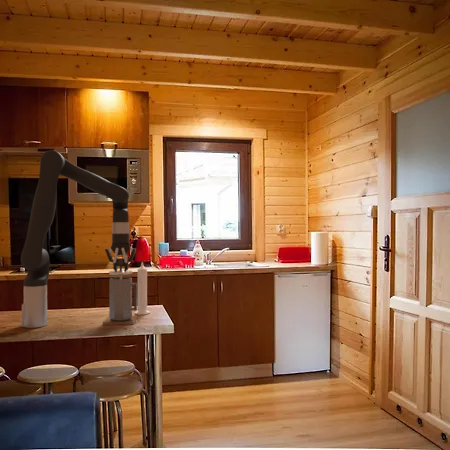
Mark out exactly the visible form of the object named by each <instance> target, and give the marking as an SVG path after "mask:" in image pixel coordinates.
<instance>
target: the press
mask: <svg viewBox="0 0 450 450" xmlns="http://www.w3.org/2000/svg"><path fill="white" fill-rule="evenodd" d="M108 279H109V282H108V283H109V290H108V291H109V294H108V295H109V301H108V302H109V305H108V306H109V309H108V310H109V312H108V313H109V315H108V317H107V318H106V319H105V320H103V321H102V326H117V325H118V326H122V325H124V326H125V325H128V326H129V325H131V326H132V325H134V324H135V323H136V322H137V320H138V319H139V315H133V311H135V312H136V311H138V282H133V277H129V276H127V277H126V276H125V277H123V276H122V279H120V276H119V277H110V278H108ZM135 321H136V322H135Z"/></svg>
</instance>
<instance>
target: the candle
mask: <svg viewBox="0 0 450 450" xmlns="http://www.w3.org/2000/svg"><path fill="white" fill-rule="evenodd" d="M150 312H151V311H149V310H148V268H147V267H145V266H144V262H143V261H142V262H141V264H140V267H138V268H137V310H136V311H135V312H134V314H135V315H136V314H137V315H136V316H143V315H149V314H150Z"/></svg>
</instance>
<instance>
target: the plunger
mask: <svg viewBox="0 0 450 450" xmlns="http://www.w3.org/2000/svg"><path fill="white" fill-rule="evenodd" d="M124 263H125V260H124V257H123V258H118V259H117V267H119V269H117V271H115V270H110V271H108V273H109V275H113V276H119V277H120V279H122V277H123V276H124V275H131V274H133V271H132V270H129V269H128V270H127V271H124V269H123V267H124Z"/></svg>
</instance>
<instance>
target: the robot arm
mask: <svg viewBox="0 0 450 450" xmlns="http://www.w3.org/2000/svg"><path fill="white" fill-rule="evenodd" d="M39 162H40V163H39V177H38V183H37V186H36V189H35V193H34V197H33V201H32V205H31V206H32V207H31V212H30V217H29V223H28V228H27V229H28V230H27V234H26V238H25V243H24V245H23V248H22V251H21V255H20V262H21V263H20V264H21V265H22V267H23V268H24V269H25V270H27V274H26V275H25V276H26V277H25V278H24V280H23V303H21V328H28V329H30V328H31V329H33V328H35V329H36V328H42V327H45V326H47V325H48V280H49V277H50V255H49V253H48V250H46V249H44V248H43V247H44V244H45V243H44V241H45V238H46V235H47V233H48V231H49V230H50V229H51V226H52V224H53V222H54V218H55V214H56V208H57V194H58V193H57V191H58V190H57V186H58V181H59V177H60V176H63V177H65V178H68V179H70V180H72V181H73V182H76V183H78V184H80V185H81V186H83V187H84V188H87V189H89V190H90V191H91V192H92V191H93V192H94V193H96V194H98V195H100V196H101V195H102V196H104V197H106V198H108V199H110V200H112V226H111V246H110V247H109V248H105V250H104V251H105V253H106V256H107V259H108V261H109V262H111V263H112V264H113V271H117V270H118V266H117V259H119V256H122V257H123V258H124V260H125V263H124V266H123V270H124V271H127V270H129V262H132V261H133V259H134V257H135V254H136V252H137V248H133V247H131V245H130V220H129V219H130V218H129V216H130V215H129V198H130V193H129V191H128V190H127V188H124V187H122V186H120V185H118V184H116V183H113V182H111V181H109V180H107V179H106V178H103V177H101V176H100V175H97V174H95V173H93V172H90V171H89V170H86V169H84V168H81V167H79V166H77V165H75V164H74V163H72V162H70V161H69V160H67V158H65V157H64V156H63V155H62V154H61V153H60V152H58V151H56V150H54V149H49V150H46V151H45V152H44V153H42V155H41V157H40V161H39ZM129 251H130V255H129V258H128V253H129ZM112 252H113V253H114V255H113V256H112V254H111V253H112Z"/></svg>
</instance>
